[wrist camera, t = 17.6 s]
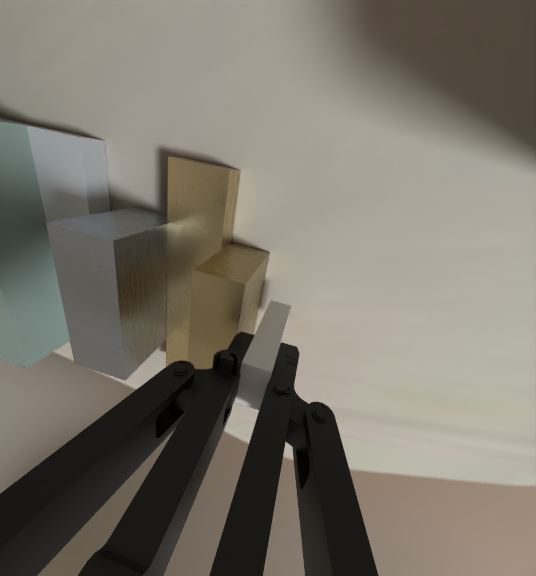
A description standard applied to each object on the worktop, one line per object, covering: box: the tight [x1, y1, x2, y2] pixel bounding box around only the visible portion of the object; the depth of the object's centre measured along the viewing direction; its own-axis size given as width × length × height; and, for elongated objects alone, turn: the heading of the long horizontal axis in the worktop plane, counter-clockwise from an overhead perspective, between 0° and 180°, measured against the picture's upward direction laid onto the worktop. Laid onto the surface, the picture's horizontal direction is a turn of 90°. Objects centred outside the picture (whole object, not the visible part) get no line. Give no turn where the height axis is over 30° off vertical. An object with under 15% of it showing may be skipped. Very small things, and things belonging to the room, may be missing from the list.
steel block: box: [46, 207, 167, 381], centre depth 19 cm, size 4×10×7 cm, turn 169°
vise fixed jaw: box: [0, 118, 111, 368], centre depth 20 cm, size 10×18×6 cm, turn 169°
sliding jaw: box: [166, 157, 270, 369], centre depth 18 cm, size 7×18×6 cm, turn 169°
